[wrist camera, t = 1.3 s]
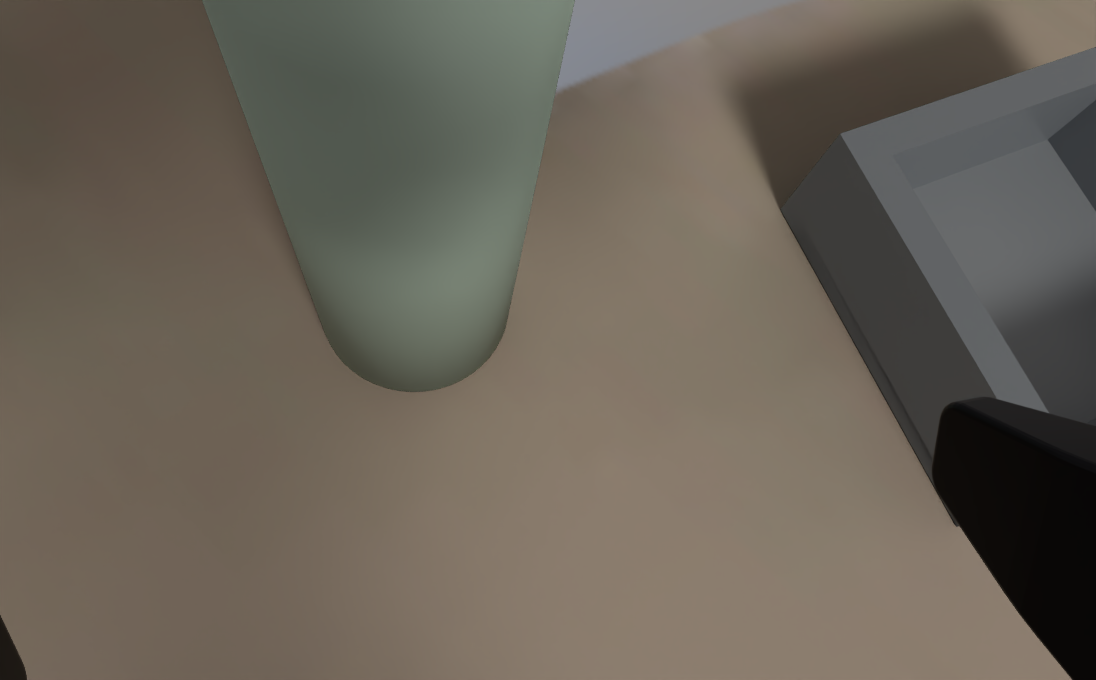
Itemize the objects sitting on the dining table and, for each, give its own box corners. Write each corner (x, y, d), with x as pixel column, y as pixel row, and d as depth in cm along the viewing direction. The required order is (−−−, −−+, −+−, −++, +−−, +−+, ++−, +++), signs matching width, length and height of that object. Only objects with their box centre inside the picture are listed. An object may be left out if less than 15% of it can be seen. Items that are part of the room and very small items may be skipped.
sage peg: (537, 352, 23) (650, 21, 11) (357, 420, 22) (252, 135, 9) (468, 196, 24) (498, -258, 12) (294, 251, 23) (131, -190, 11)
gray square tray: (1229, 393, 25) (1368, 349, 21) (956, 526, 23) (1059, 503, 19) (1042, 115, 28) (1136, 32, 24) (780, 209, 25) (840, 133, 21)
